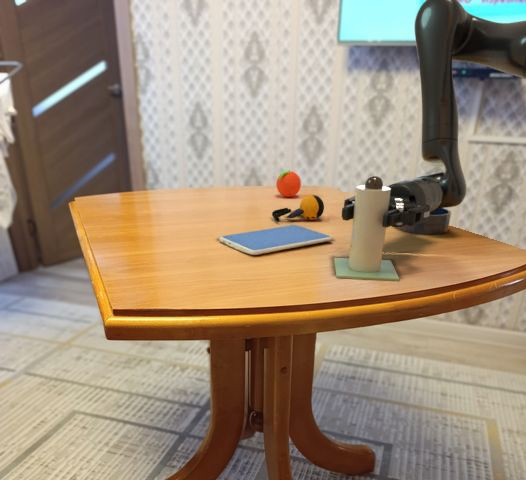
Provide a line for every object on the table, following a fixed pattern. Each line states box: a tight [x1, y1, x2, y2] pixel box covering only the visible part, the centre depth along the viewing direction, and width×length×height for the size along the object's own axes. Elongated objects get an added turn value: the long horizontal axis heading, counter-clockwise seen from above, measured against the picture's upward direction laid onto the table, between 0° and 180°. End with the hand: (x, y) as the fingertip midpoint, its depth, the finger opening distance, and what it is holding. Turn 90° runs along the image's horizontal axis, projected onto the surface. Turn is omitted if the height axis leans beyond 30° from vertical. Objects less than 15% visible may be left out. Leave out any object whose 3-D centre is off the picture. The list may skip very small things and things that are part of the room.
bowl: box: [396, 208, 452, 235], centre depth 111 cm, size 11×11×4 cm
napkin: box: [333, 257, 400, 282], centre depth 86 cm, size 10×10×1 cm
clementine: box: [275, 170, 302, 198], centre depth 142 cm, size 8×7×7 cm
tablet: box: [219, 224, 333, 256], centre depth 100 cm, size 19×13×1 cm, turn 125°
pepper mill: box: [348, 175, 391, 272], centre depth 83 cm, size 5×5×15 cm
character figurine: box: [271, 194, 325, 222], centre depth 119 cm, size 10×6×12 cm
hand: (364, 217), depth 80 cm, fingers open, 6 cm apart
